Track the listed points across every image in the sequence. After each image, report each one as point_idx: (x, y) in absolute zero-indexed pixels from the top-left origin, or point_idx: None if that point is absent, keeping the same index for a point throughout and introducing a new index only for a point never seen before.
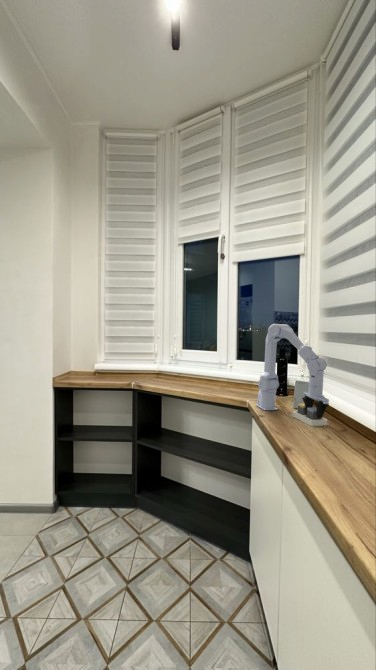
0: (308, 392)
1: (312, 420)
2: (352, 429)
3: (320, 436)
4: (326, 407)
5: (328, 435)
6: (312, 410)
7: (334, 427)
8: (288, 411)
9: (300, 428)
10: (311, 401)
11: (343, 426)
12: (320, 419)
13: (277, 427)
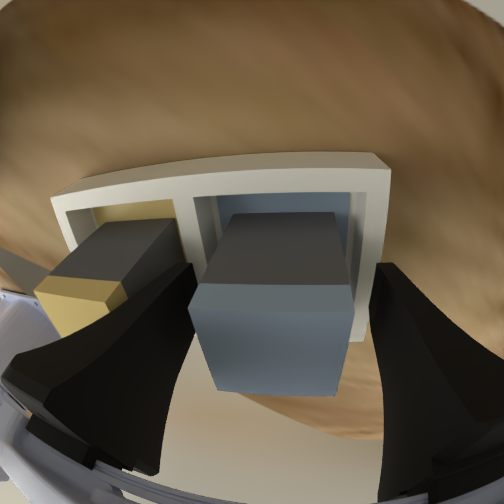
0: (4, 463)
1: (364, 336)
2: (484, 15)
3: (482, 339)
4: (497, 364)
5: (500, 297)
6: (321, 390)
7: (434, 125)
8: (40, 258)
9: (363, 372)
10: (119, 395)
11: (417, 11)
12: (363, 250)
13: (316, 423)
